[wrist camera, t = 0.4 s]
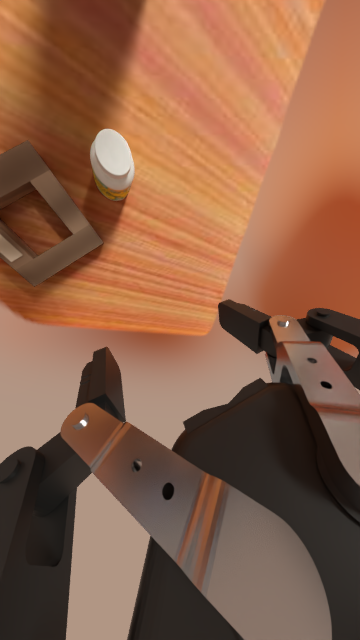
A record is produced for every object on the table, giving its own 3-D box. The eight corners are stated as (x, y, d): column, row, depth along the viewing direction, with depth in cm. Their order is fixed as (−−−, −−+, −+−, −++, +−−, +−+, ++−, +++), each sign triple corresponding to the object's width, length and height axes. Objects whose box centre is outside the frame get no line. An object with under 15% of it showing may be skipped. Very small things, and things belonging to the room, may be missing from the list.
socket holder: (-52, 200, 21) (-76, 193, 18) (36, 152, 22) (27, 139, 19) (40, 283, 28) (33, 287, 25) (103, 243, 29) (103, 242, 26)
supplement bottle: (133, 176, 27) (145, 147, 19) (122, 208, 28) (129, 193, 20) (99, 150, 24) (96, 103, 16) (89, 187, 25) (81, 160, 17)
